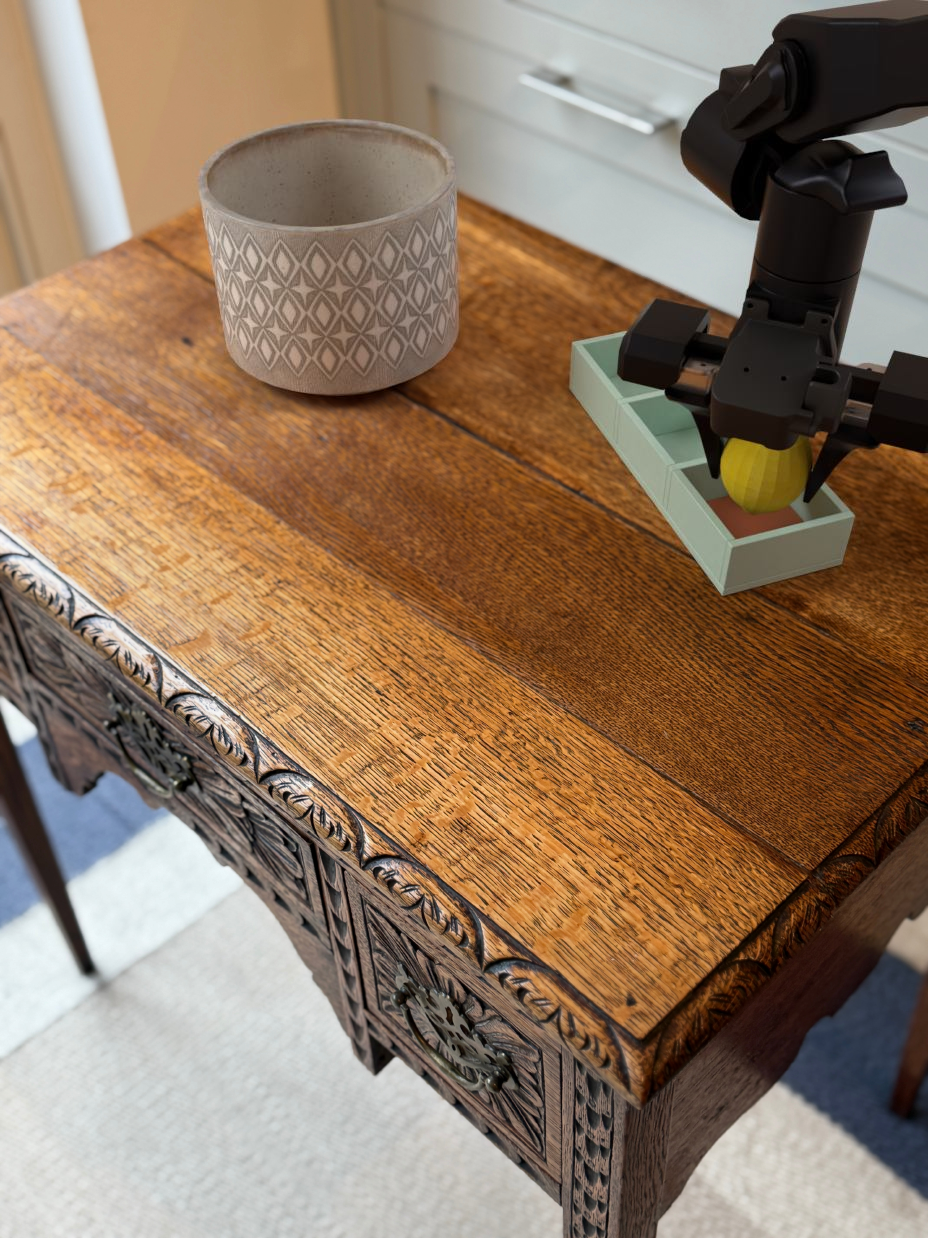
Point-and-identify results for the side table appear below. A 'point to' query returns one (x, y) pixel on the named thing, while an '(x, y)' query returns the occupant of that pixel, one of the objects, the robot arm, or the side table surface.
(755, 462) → the fruit
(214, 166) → the planter
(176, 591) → the side table surface
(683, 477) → the compartment tray
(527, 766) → the side table surface
